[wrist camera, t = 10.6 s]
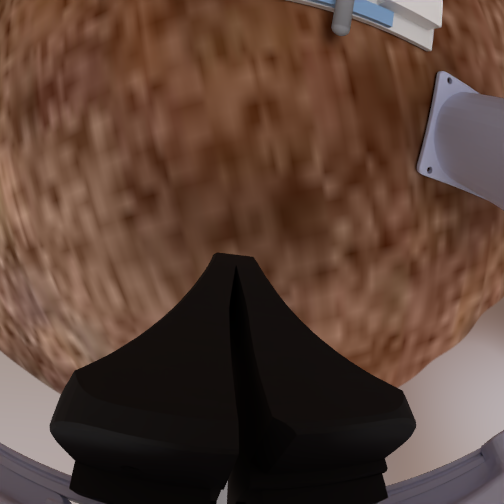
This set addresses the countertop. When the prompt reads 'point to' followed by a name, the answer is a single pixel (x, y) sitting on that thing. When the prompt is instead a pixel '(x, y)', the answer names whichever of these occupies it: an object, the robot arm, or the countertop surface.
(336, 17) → the dark grey rounded piece
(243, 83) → the countertop surface
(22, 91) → the countertop surface
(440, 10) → the white slotted board
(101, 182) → the countertop surface
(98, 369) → the robot arm
